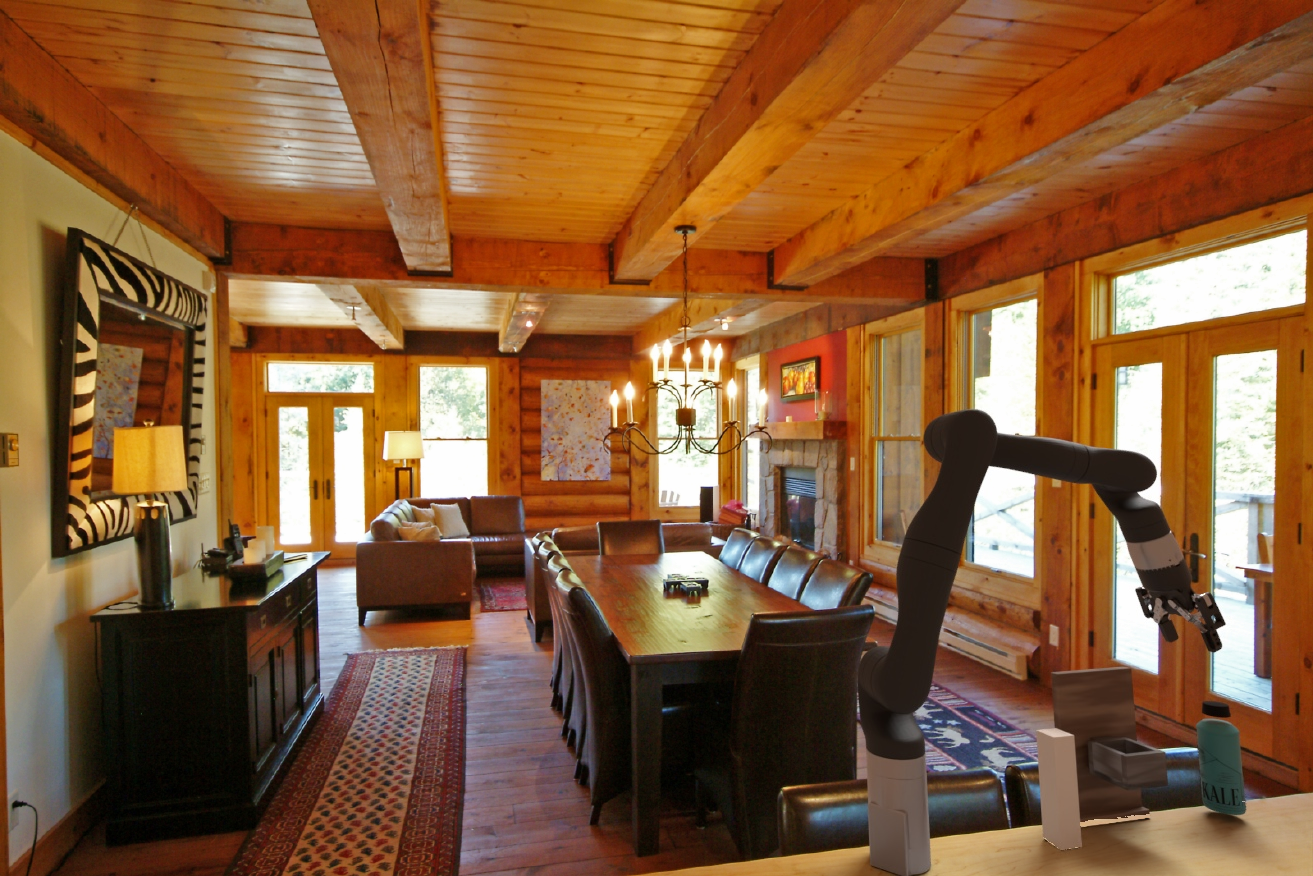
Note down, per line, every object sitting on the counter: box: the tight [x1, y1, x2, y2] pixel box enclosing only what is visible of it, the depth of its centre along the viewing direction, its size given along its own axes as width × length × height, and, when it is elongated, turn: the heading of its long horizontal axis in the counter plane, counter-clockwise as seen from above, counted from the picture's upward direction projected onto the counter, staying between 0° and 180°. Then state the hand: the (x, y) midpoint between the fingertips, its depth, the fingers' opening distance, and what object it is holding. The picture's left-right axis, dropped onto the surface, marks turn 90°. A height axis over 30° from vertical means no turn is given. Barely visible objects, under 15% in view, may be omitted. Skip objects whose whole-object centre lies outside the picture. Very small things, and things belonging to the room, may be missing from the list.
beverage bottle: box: [1195, 700, 1247, 816], centre depth 128 cm, size 6×7×20 cm
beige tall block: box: [1035, 727, 1083, 851], centre depth 119 cm, size 4×4×18 cm
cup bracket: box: [1050, 666, 1169, 822], centre depth 125 cm, size 12×16×26 cm
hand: (1193, 645), depth 125 cm, fingers open, 8 cm apart
